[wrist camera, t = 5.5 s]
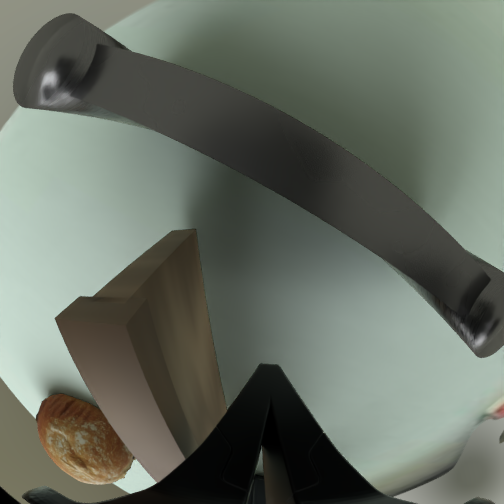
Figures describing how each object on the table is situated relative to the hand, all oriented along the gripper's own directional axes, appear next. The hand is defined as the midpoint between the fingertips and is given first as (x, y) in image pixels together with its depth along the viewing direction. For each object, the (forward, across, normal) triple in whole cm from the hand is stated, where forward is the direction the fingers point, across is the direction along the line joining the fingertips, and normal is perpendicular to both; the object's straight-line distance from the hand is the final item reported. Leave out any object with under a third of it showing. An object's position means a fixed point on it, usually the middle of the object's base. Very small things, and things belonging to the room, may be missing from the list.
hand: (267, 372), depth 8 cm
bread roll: (+4, +15, +16) cm, 22 cm away
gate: (+3, +3, +3) cm, 5 cm away
